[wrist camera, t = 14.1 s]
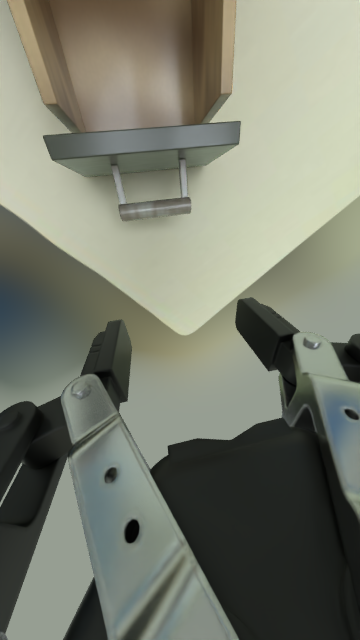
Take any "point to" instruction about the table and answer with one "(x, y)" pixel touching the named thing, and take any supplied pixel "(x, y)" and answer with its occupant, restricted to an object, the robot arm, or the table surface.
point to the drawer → (133, 86)
